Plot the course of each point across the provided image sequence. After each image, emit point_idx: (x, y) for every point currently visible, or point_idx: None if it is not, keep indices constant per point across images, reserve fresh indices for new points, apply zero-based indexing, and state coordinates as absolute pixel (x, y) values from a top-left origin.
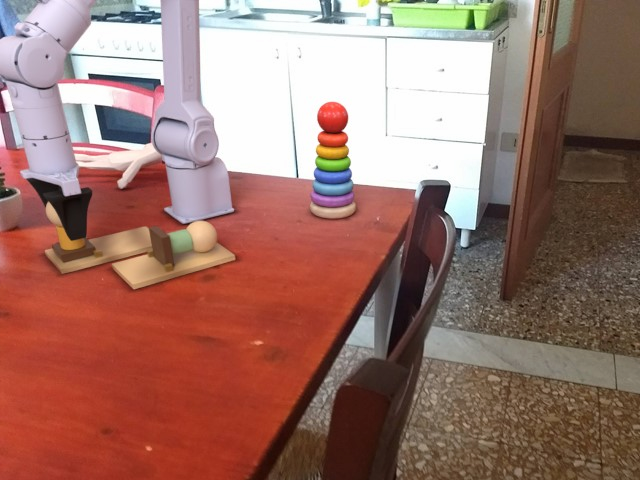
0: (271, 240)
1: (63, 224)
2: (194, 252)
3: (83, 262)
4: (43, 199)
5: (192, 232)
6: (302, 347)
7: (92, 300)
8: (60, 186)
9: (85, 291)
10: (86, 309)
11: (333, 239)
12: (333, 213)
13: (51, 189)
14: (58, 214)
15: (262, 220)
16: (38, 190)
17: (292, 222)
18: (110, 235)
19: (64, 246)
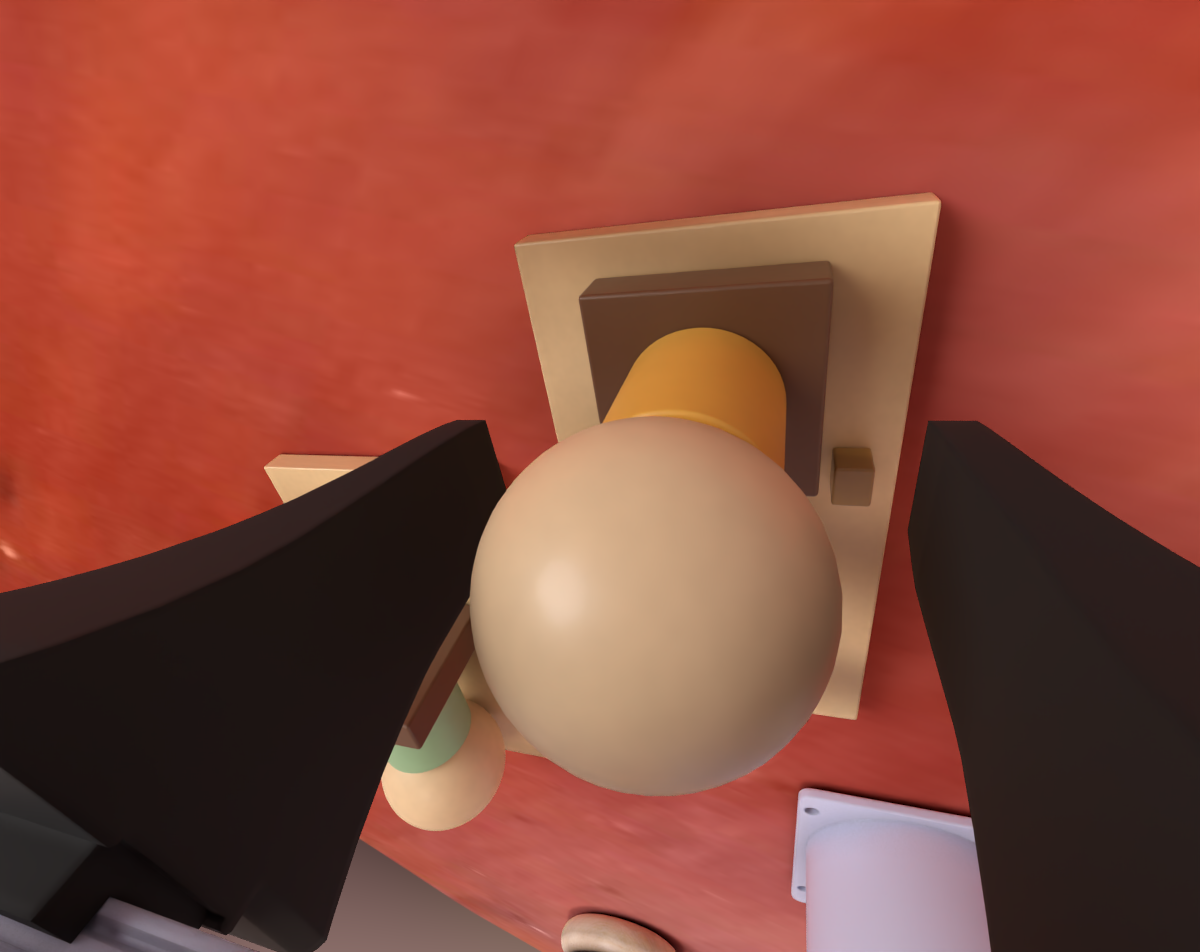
0: (518, 810)
1: (328, 482)
2: (474, 690)
3: (551, 377)
4: (1041, 589)
5: (390, 768)
6: (6, 591)
7: (210, 299)
8: (45, 930)
9: (296, 295)
10: (134, 257)
11: (467, 853)
12: (566, 932)
13: (1047, 818)
14: (218, 535)
15: (673, 872)
16: (1144, 718)
17: (612, 883)
18: (859, 591)
19: (644, 353)
